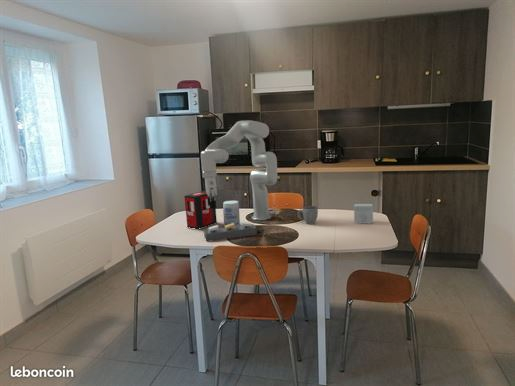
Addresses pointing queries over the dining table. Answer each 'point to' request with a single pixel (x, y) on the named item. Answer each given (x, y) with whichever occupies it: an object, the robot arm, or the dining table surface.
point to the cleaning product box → (199, 210)
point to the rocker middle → (229, 225)
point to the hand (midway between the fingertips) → (211, 206)
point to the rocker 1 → (213, 228)
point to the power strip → (231, 232)
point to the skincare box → (363, 213)
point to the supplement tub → (231, 212)
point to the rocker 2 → (245, 224)
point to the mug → (309, 214)
